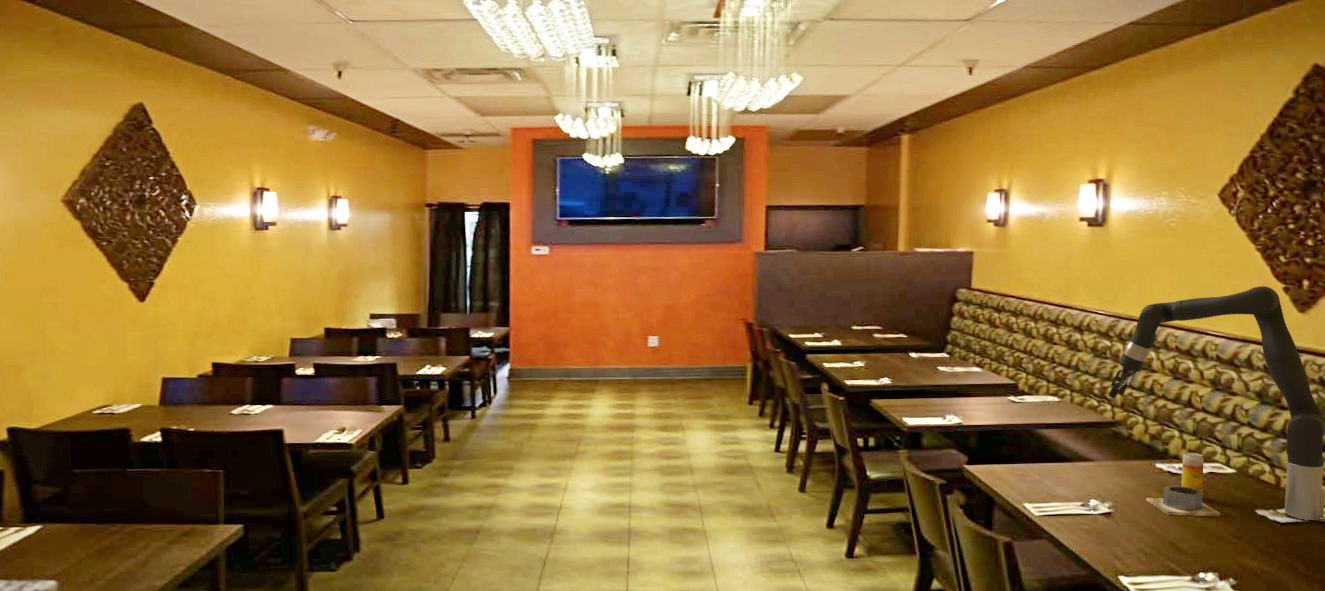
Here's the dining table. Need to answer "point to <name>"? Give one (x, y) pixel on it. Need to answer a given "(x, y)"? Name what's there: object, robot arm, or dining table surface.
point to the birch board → (1172, 511)
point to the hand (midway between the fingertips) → (1115, 395)
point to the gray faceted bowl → (1182, 498)
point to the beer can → (1192, 470)
